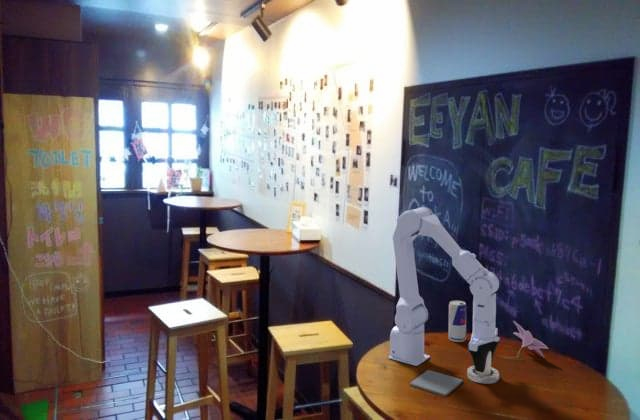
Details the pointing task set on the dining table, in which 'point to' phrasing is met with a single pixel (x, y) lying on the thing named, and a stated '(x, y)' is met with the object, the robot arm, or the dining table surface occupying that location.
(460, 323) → the energy drink
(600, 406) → the dining table surface
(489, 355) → the peg
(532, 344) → the lily
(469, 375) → the ring
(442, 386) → the mat
